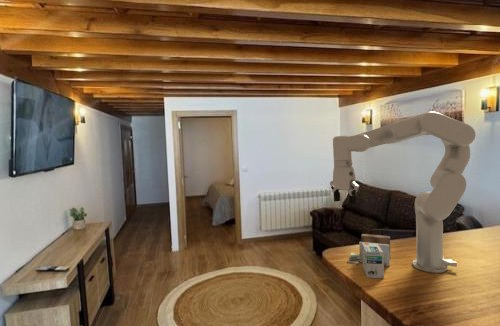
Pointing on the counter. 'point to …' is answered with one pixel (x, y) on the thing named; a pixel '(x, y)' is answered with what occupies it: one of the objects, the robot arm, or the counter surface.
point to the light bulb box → (373, 260)
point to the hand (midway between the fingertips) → (344, 202)
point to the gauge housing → (370, 239)
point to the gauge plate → (384, 248)
